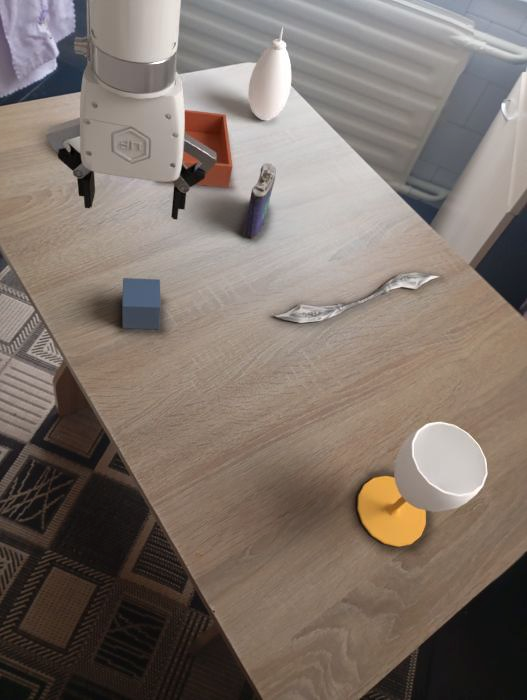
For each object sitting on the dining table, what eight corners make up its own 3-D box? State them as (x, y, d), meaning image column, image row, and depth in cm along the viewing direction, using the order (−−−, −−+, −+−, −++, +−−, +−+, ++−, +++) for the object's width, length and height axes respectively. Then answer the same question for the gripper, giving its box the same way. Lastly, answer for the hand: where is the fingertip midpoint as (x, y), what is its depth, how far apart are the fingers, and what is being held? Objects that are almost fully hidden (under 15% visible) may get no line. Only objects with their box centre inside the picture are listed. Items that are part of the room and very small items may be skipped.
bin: (159, 181, 98) (160, 160, 94) (158, 128, 106) (159, 106, 103) (228, 187, 101) (232, 166, 97) (222, 135, 109) (225, 114, 105)
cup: (380, 558, 67) (440, 513, 54) (344, 490, 71) (391, 433, 58) (439, 530, 71) (508, 482, 58) (401, 466, 75) (457, 408, 62)
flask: (253, 202, 99) (266, 151, 91) (269, 207, 100) (283, 156, 91) (240, 236, 94) (251, 185, 85) (257, 242, 94) (270, 191, 85)
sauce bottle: (289, 121, 116) (312, 32, 102) (264, 133, 112) (285, 42, 98) (261, 102, 118) (280, 12, 104) (236, 113, 114) (252, 21, 100)
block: (122, 328, 79) (122, 306, 75) (123, 300, 82) (123, 277, 78) (158, 329, 80) (160, 307, 76) (158, 302, 83) (160, 279, 79)
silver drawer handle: (272, 315, 85) (289, 339, 83) (273, 312, 85) (290, 337, 83) (423, 260, 99) (441, 280, 97) (425, 258, 99) (443, 277, 97)
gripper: (25, 65, 48) (48, 218, 62) (228, 99, 51) (206, 238, 65) (43, 22, 52) (60, 174, 66) (229, 56, 55) (208, 194, 69)
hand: (133, 205), depth 65 cm, fingers open, 9 cm apart
